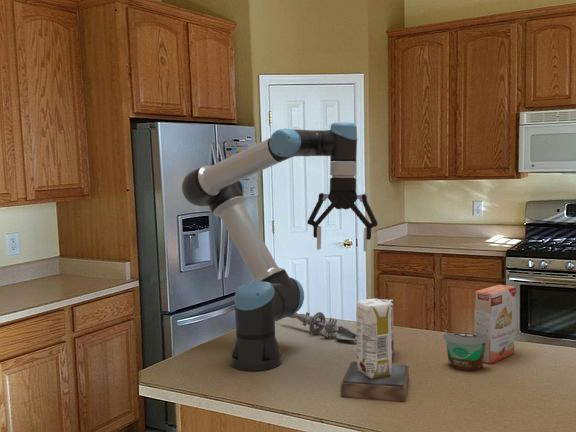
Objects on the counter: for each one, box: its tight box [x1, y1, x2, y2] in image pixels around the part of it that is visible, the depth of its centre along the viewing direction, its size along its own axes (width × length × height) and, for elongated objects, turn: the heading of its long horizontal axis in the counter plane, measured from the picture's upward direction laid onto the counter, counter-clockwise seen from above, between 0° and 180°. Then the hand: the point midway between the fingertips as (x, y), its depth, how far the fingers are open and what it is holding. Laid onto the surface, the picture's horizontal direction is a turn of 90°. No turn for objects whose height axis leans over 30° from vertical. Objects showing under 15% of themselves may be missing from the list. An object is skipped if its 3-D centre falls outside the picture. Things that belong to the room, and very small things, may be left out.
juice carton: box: [356, 298, 393, 379], centre depth 158 cm, size 8×9×19 cm
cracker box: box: [473, 284, 517, 365], centre depth 181 cm, size 14×6×21 cm, turn 131°
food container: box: [443, 329, 488, 372], centre depth 172 cm, size 12×6×10 cm, turn 70°
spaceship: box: [288, 311, 357, 342], centre depth 209 cm, size 8×35×8 cm
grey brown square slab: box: [340, 361, 410, 402], centre depth 160 cm, size 16×16×4 cm
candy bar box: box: [378, 298, 395, 362], centre depth 184 cm, size 11×5×16 cm, turn 168°
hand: (341, 249), depth 177 cm, fingers open, 13 cm apart
